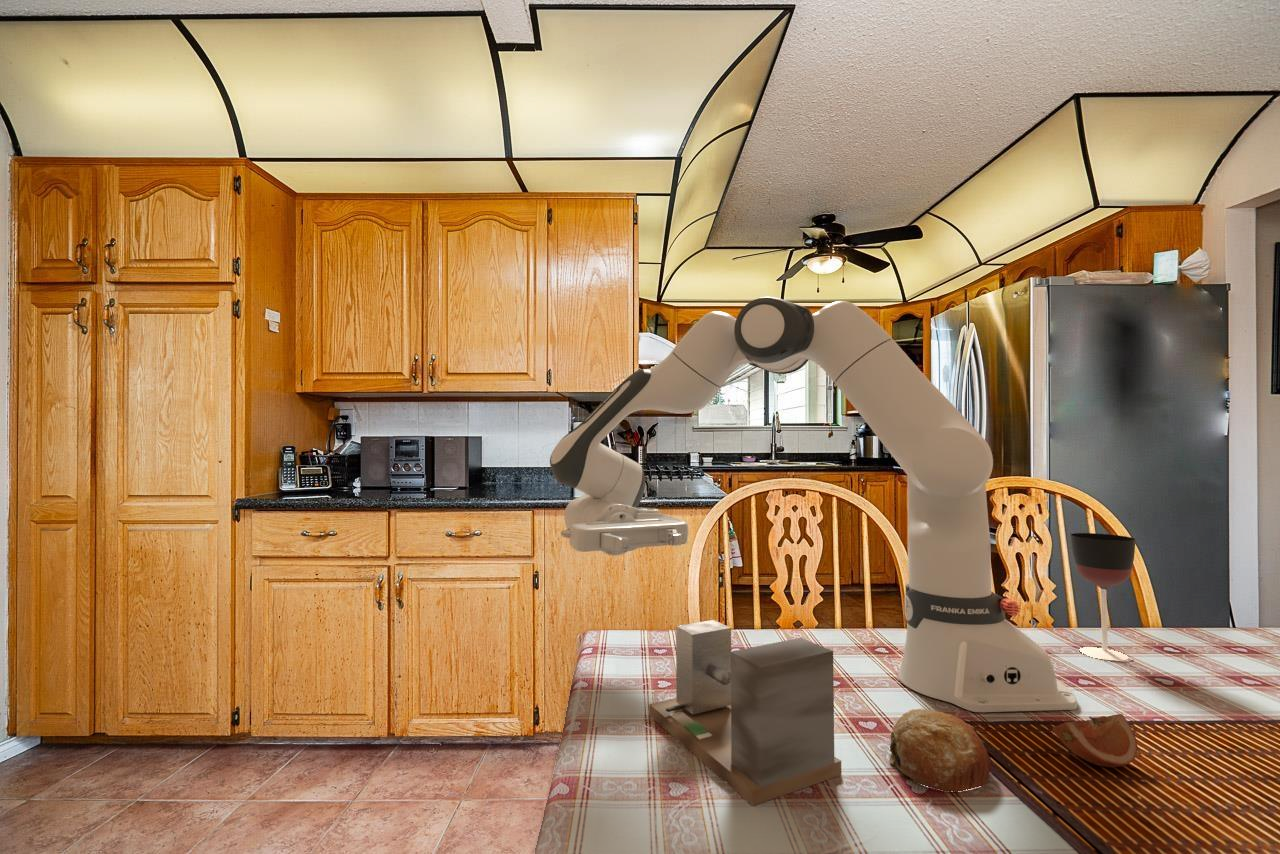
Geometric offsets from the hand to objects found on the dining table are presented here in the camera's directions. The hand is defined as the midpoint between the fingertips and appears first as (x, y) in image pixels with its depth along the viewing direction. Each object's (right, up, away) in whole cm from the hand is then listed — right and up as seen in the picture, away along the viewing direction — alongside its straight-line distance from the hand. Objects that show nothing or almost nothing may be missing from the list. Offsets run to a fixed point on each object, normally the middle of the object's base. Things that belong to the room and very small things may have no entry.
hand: (651, 542), depth 91 cm
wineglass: (+78, -21, +10) cm, 81 cm away
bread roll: (+32, -20, -25) cm, 45 cm away
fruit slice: (+50, -20, -24) cm, 59 cm away
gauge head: (+6, -19, -15) cm, 25 cm away
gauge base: (+10, -20, -19) cm, 30 cm away
